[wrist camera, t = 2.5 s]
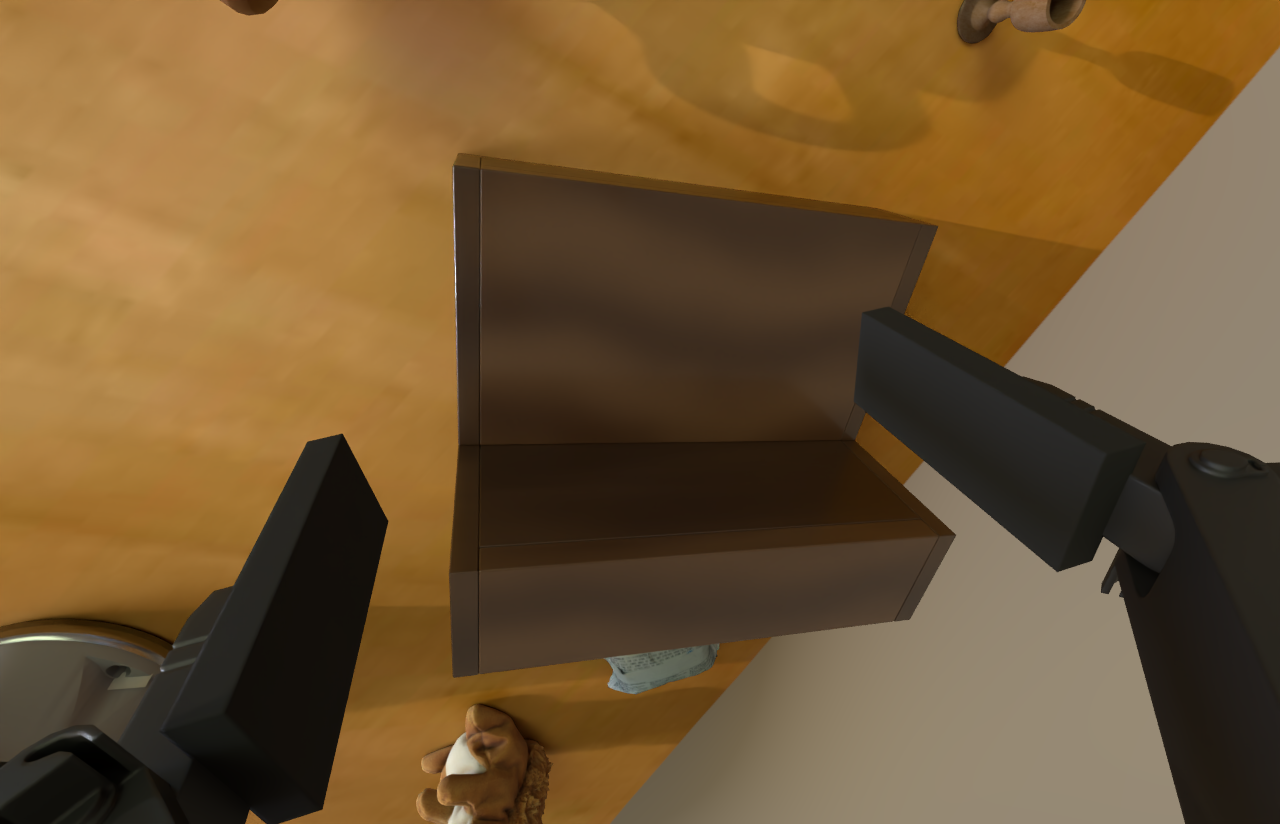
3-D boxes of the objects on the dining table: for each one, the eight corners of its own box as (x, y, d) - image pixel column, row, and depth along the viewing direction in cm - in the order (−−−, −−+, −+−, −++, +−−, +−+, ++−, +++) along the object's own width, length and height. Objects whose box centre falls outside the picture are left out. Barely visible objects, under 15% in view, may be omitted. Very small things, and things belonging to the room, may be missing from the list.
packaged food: (588, 614, 50) (597, 661, 46) (708, 577, 52) (727, 620, 47) (604, 667, 55) (614, 715, 51) (713, 632, 56) (732, 675, 52)
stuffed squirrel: (469, 697, 52) (466, 860, 41) (575, 732, 59) (596, 879, 48) (404, 754, 54) (383, 924, 43) (513, 782, 61) (520, 933, 50)
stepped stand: (457, 152, 29) (435, 201, 16) (876, 208, 37) (1101, 272, 23) (463, 481, 40) (452, 678, 26) (789, 471, 47) (910, 619, 34)
